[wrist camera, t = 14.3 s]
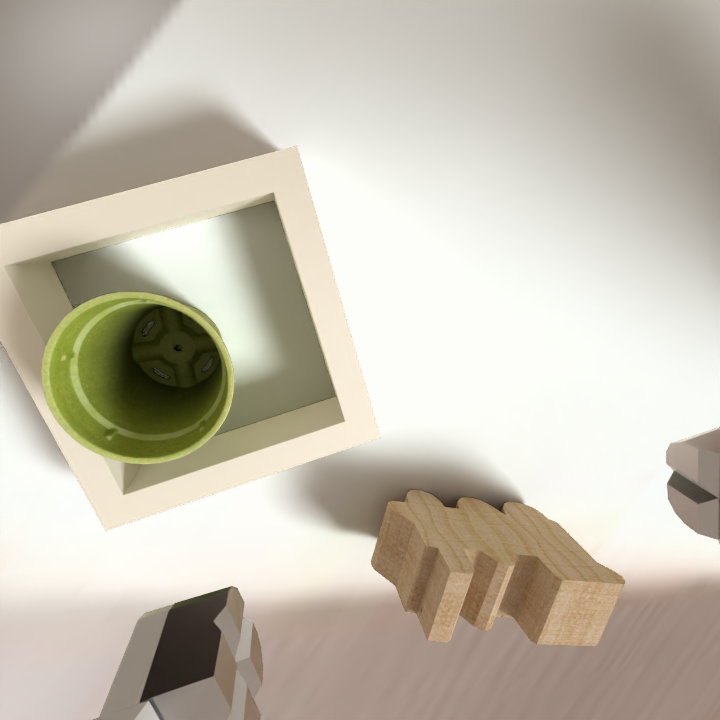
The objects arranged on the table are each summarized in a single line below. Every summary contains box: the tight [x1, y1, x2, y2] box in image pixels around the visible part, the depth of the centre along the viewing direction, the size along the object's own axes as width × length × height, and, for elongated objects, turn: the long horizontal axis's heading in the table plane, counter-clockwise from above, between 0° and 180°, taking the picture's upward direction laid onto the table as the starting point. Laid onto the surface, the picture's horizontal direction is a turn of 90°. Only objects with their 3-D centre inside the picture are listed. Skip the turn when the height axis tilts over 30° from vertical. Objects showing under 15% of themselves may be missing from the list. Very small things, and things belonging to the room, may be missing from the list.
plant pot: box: [41, 291, 234, 464], centre depth 26 cm, size 9×9×9 cm
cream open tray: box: [0, 146, 381, 531], centre depth 28 cm, size 19×19×5 cm
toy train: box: [371, 490, 625, 646], centre depth 34 cm, size 6×17×10 cm, turn 76°
